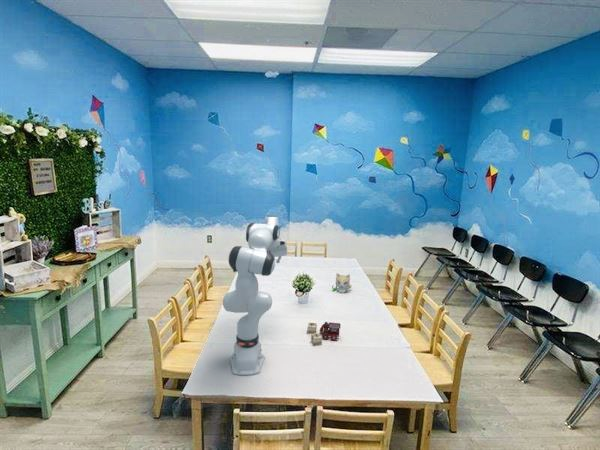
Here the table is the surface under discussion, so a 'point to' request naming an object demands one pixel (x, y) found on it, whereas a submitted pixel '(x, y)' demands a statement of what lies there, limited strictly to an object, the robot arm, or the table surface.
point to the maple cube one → (316, 339)
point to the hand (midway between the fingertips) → (270, 263)
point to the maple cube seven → (312, 328)
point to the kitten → (342, 283)
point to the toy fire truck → (330, 331)
